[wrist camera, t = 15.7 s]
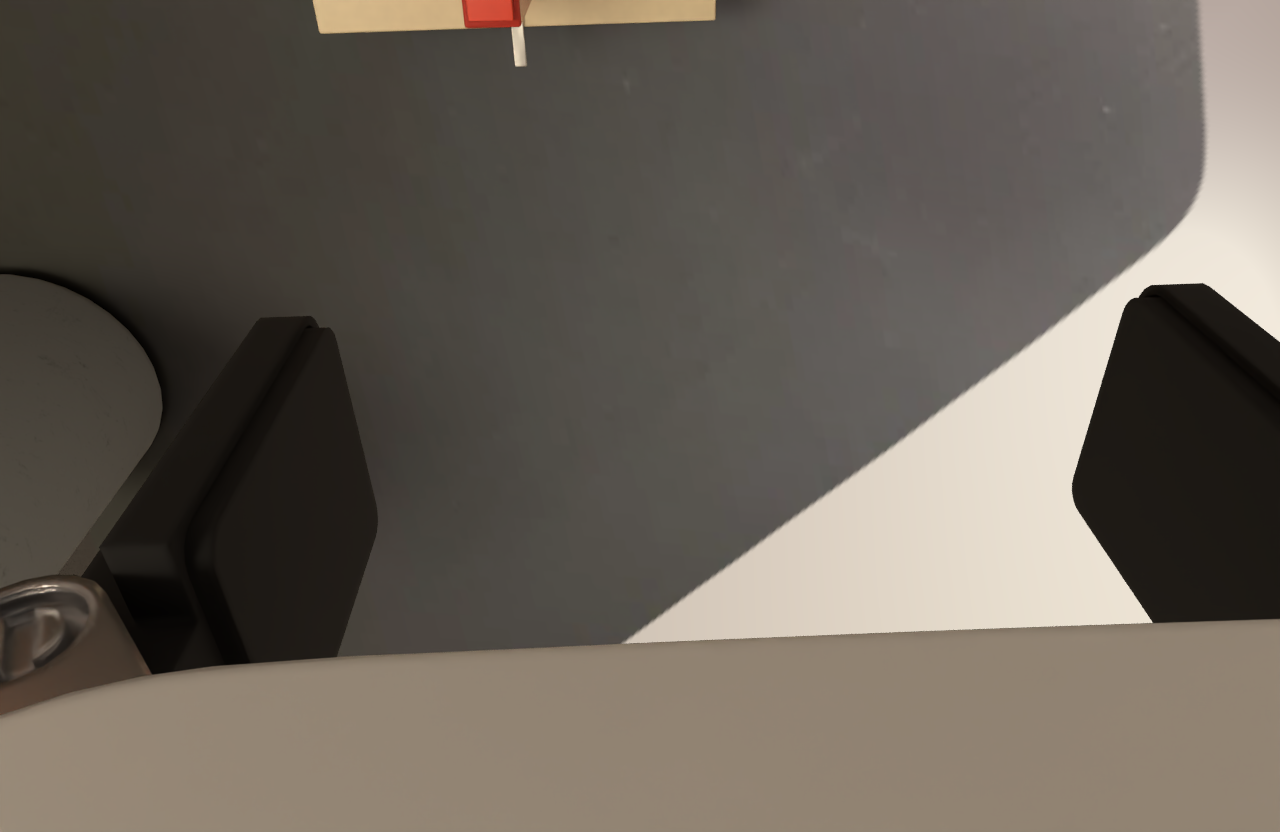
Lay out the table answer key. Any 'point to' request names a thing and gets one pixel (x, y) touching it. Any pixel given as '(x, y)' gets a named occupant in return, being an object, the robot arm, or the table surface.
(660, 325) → the table surface
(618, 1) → the tan slotted block stand
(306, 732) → the robot arm
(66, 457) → the water bottle
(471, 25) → the glossy red slab
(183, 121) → the table surface
